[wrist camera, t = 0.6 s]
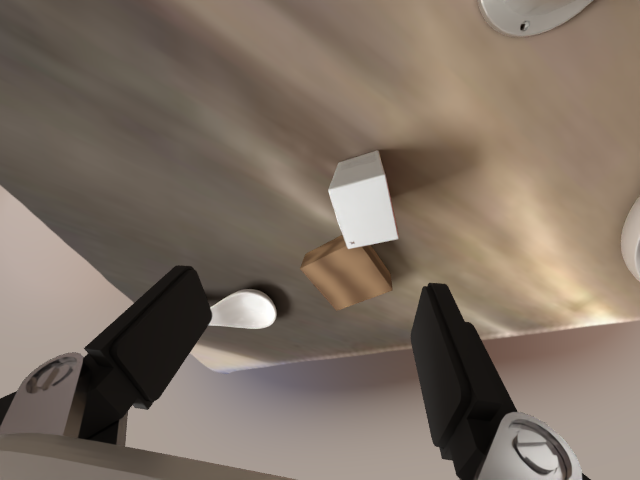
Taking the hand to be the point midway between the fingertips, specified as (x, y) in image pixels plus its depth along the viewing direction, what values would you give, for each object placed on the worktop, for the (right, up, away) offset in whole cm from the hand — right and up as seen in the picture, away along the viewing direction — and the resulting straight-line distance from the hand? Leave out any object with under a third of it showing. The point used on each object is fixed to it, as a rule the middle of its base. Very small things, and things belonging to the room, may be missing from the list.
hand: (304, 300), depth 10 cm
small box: (+8, +12, +27) cm, 31 cm away
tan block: (+6, -2, +37) cm, 37 cm away
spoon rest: (-20, -12, +48) cm, 53 cm away
